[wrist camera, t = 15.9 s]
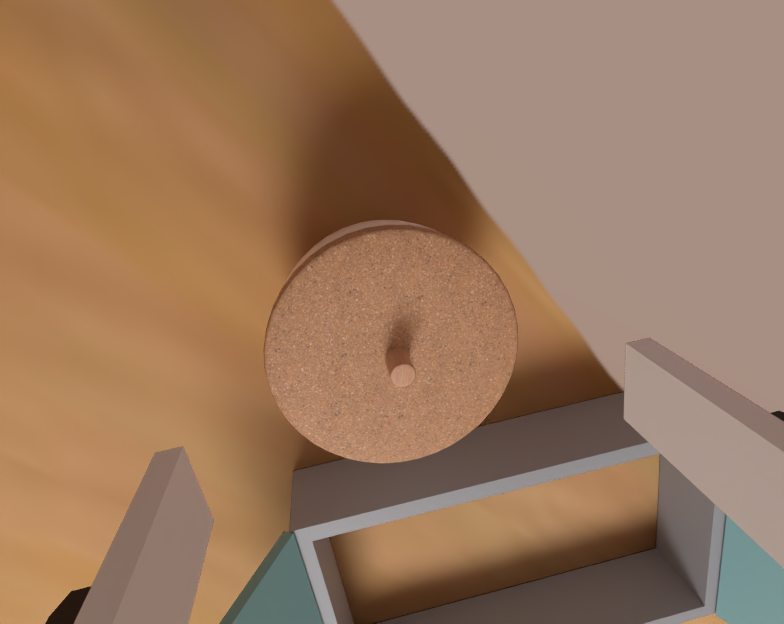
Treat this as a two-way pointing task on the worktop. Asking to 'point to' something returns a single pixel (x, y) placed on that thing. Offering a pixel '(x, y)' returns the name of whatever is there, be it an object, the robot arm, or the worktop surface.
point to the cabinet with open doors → (504, 474)
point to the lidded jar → (389, 342)
